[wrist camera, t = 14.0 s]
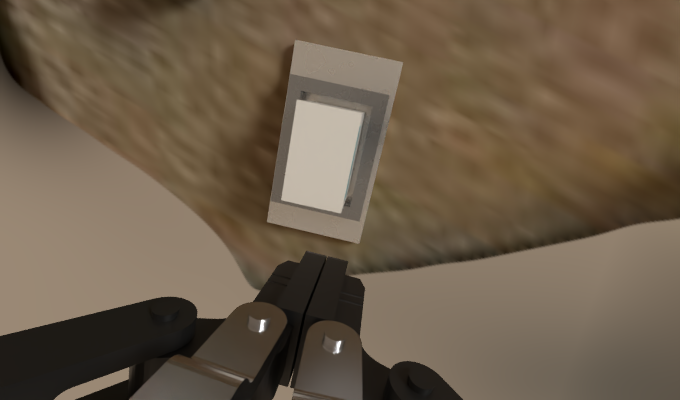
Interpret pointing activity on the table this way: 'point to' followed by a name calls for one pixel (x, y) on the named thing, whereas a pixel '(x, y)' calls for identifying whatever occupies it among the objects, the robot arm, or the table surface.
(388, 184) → the table surface
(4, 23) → the table surface
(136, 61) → the table surface
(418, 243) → the table surface
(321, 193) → the block
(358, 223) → the grey flat block
